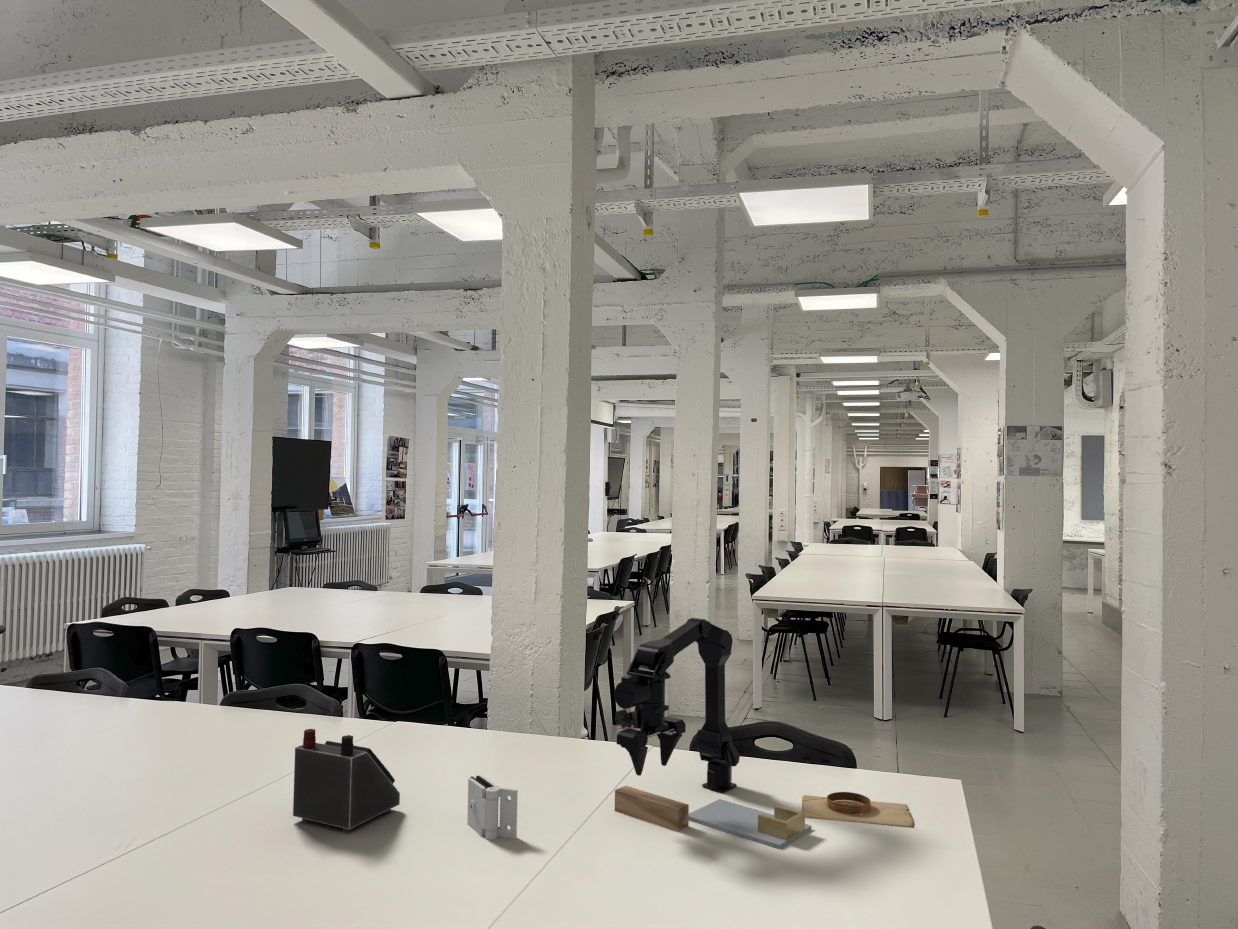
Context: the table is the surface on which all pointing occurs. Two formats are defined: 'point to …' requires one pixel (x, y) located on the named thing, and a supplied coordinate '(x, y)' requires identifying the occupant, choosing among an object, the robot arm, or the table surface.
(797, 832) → the cup bracket
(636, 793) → the walnut rail
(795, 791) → the table surface
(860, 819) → the board
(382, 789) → the voltmeter
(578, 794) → the table surface
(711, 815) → the mounting board
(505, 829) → the hinge
